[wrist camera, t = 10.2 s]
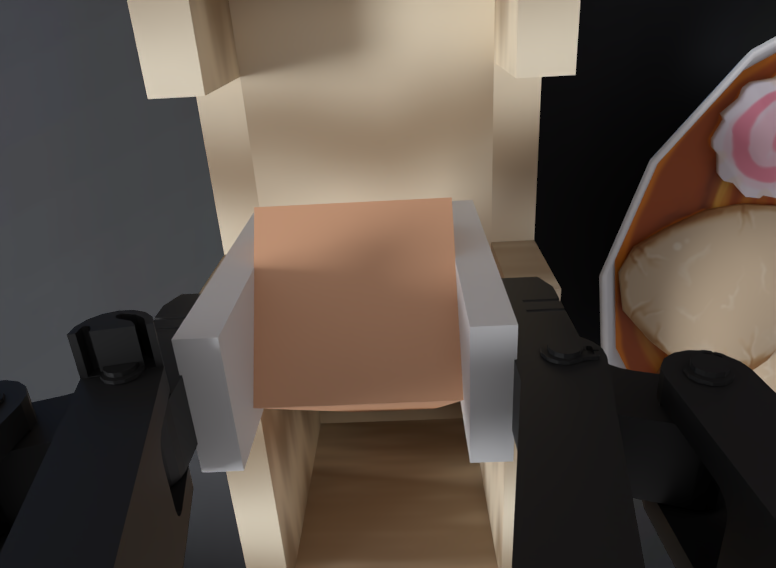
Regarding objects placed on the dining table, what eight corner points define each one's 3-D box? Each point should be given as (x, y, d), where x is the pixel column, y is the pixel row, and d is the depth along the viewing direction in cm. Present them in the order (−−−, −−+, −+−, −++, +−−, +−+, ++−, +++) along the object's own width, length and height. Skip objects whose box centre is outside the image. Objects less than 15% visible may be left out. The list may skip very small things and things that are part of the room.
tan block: (429, 329, 32) (434, 408, 31) (352, 332, 32) (354, 412, 31) (451, 197, 13) (464, 399, 12) (253, 207, 13) (252, 407, 12)
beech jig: (495, 408, 35) (540, 597, 24) (298, 415, 35) (254, 604, 24) (505, -95, 25) (591, -163, 14) (228, -76, 25) (99, -129, 14)
